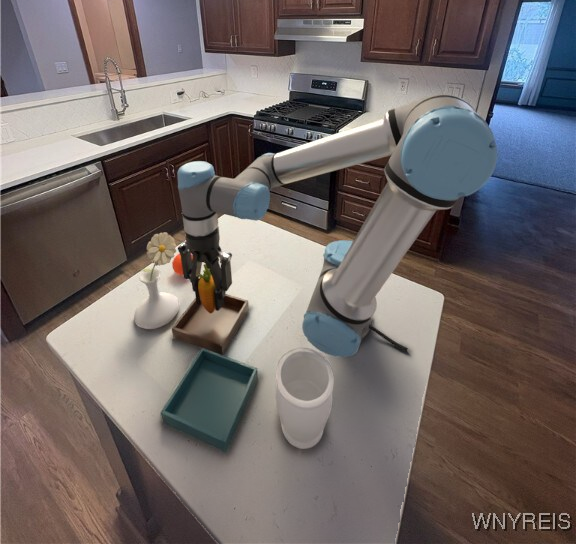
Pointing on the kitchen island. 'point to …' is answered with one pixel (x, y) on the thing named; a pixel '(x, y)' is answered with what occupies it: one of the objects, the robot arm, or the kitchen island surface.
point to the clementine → (178, 264)
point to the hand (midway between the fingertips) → (210, 303)
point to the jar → (303, 395)
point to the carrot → (207, 290)
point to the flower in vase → (157, 304)
